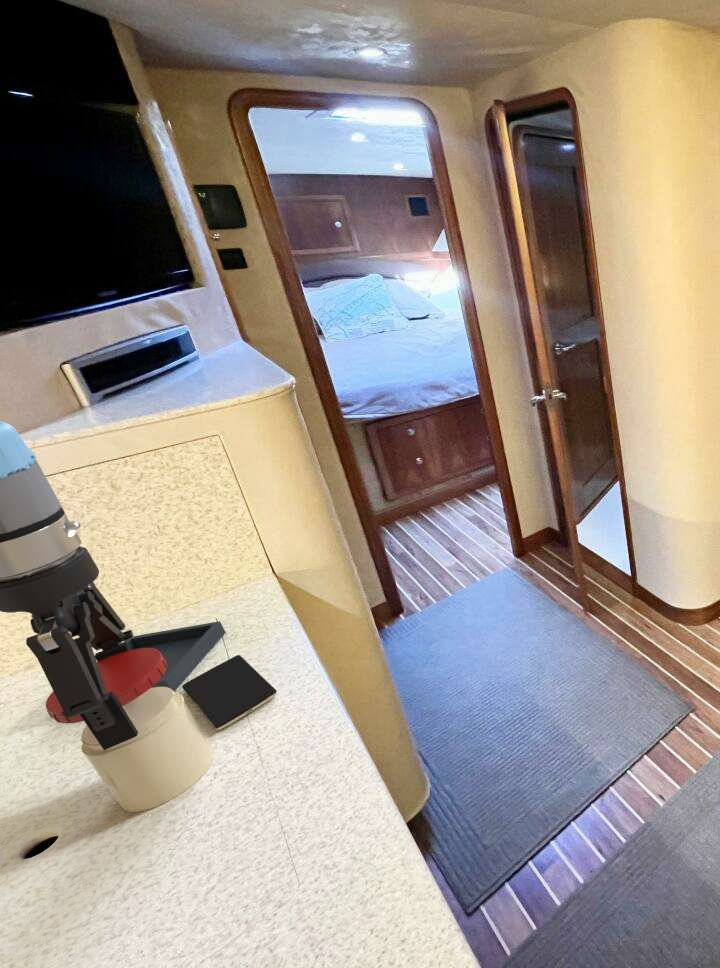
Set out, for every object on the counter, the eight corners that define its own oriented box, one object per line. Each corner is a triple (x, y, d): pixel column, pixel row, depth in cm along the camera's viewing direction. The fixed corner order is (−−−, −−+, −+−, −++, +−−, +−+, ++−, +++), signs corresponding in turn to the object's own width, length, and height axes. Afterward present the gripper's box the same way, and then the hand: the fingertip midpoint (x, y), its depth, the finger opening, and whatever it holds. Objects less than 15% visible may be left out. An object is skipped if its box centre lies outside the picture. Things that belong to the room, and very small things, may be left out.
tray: (66, 714, 80) (57, 701, 79) (135, 648, 92) (128, 636, 91) (173, 693, 83) (165, 681, 82) (226, 632, 95) (220, 620, 94)
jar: (100, 821, 65) (51, 755, 61) (153, 754, 73) (114, 692, 69) (186, 801, 67) (145, 736, 62) (229, 738, 75) (195, 676, 71)
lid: (73, 735, 58) (65, 724, 58) (38, 707, 62) (30, 696, 61) (183, 671, 66) (177, 660, 66) (145, 649, 70) (139, 639, 69)
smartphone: (216, 728, 75) (180, 685, 83) (219, 734, 75) (183, 690, 83) (277, 690, 81) (238, 653, 88) (280, 696, 81) (241, 658, 89)
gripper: (60, 596, 52) (160, 756, 60) (102, 511, 67) (177, 647, 76) (-67, 634, 47) (60, 802, 55) (11, 534, 63) (101, 676, 71)
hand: (128, 712), depth 66 cm, fingers closed on lid, 9 cm apart
